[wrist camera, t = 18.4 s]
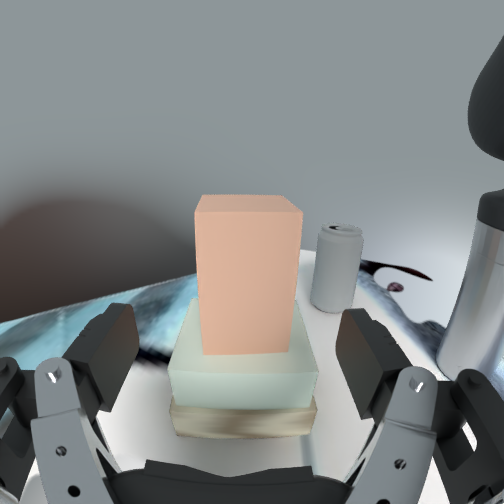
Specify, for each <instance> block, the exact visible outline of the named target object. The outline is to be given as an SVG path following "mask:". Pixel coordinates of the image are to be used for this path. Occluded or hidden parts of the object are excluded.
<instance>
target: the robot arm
mask: <svg viewBox="0 0 504 504" xmlns="http://www.w3.org/2000/svg"><path fill="white" fill-rule="evenodd" d="M468 125H469V130H470V133H471V136H472V138H473V140H474V141H475V143H476V144H477V146H478V147H479V148H480V149H481V150H483V151H484V152H486V153H487V154H489V155H491V156H493V157H495V158H498V159H500V160H503V161H504V36H503V38H502V39H501V41H500V42H499V44H498V46H497V47H496V49H495V51H494V52H493V54H492V55H491V57H490V59H489V60H488V62H487V63H486V65H485V66H484V68H483V70H482V71H481V73H480V75H479V77H478V79H477V80H476V83H475V85H474V87H473V90H472V93H471V97H470V101H469V106H468ZM138 350H139V335H138V331H137V326H136V322H135V317H134V312H133V308H132V306H131V305H130V304H122V303H111V304H110V305H109V307H108V308H107V309H106V310H105V312H104V313H103V314H99V315H98V316H96V317H95V318H93V319H91V320H90V321H89V323H88V324H87V325H86V326H85V328H84V330H82V331H81V333H80V334H79V336H77V338H76V339H75V340H74V342H73V343H72V344H71V346H70V347H69V348H68V349H67V351H66V352H65V353H64V355H63V356H62V358H58V357H56V358H50V359H47V360H45V361H43V362H42V363H41V364H39V365H38V367H37V368H36V370H21V369H20V367H19V365H18V363H17V361H16V360H15V359H14V358H12V357H3V358H0V420H1V418H2V416H3V415H4V413H5V411H6V410H7V408H9V409H10V411H11V412H12V413H13V415H14V417H13V419H12V421H11V423H10V425H9V426H8V428H7V430H6V432H5V434H4V436H3V438H2V440H1V438H0V504H19V501H20V498H21V495H22V492H23V489H24V486H25V483H26V480H27V478H28V475H29V472H30V470H31V467H32V464H33V462H34V459H35V457H36V460H37V464H38V469H39V473H40V477H41V480H42V484H43V488H44V491H45V494H46V498H47V501H48V504H418V501H419V498H420V495H421V492H422V489H423V486H424V483H425V480H426V477H427V473H428V470H429V466H430V463H431V459H432V456H433V458H434V461H435V463H436V466H437V468H438V471H439V474H440V476H441V479H442V482H443V485H444V487H445V490H446V493H447V496H448V499H449V502H450V504H504V401H503V400H502V398H501V397H500V395H499V394H498V393H497V391H496V390H495V388H494V387H493V386H492V384H491V383H490V382H489V380H490V378H491V377H492V375H493V373H494V371H495V370H496V368H497V366H498V364H499V363H500V361H501V359H502V357H503V355H504V189H502V190H499V191H494V192H488V193H485V194H483V195H482V197H481V198H480V201H479V207H478V213H477V220H476V226H475V232H474V236H473V241H472V246H471V251H470V255H469V259H468V263H467V267H466V271H465V274H464V278H463V282H462V285H461V288H460V291H459V294H458V298H457V301H456V304H455V307H454V309H453V312H452V315H451V318H450V320H449V323H448V326H447V328H446V330H445V333H444V335H443V338H442V340H441V342H440V345H439V347H438V349H437V352H436V361H437V364H438V366H439V368H440V369H441V371H442V372H443V373H444V374H445V375H446V376H447V377H448V378H450V379H451V380H453V381H437V379H436V377H435V376H434V375H433V374H432V373H431V372H430V371H428V370H427V369H425V368H422V367H416V366H413V365H412V364H411V362H410V361H409V359H408V358H407V357H406V355H405V354H404V352H403V351H402V349H401V348H400V346H399V345H398V344H396V341H395V339H394V338H393V337H392V335H391V334H390V332H389V331H388V329H387V328H386V327H385V326H384V325H382V324H381V323H379V322H378V321H376V320H372V319H371V317H370V316H369V314H368V313H367V312H366V310H365V309H364V308H359V309H345V310H344V311H343V313H342V318H341V322H340V327H339V331H338V336H337V340H336V356H337V359H338V361H339V364H340V366H341V369H342V371H343V374H344V376H345V379H346V381H347V384H348V386H349V389H350V392H351V394H352V397H353V399H354V402H355V404H356V407H357V410H358V412H359V415H360V418H361V420H363V419H368V418H373V419H374V422H375V423H374V425H373V426H372V428H371V431H370V433H369V435H368V437H367V439H366V441H365V443H364V445H363V447H362V450H361V452H360V454H359V455H358V457H357V459H356V461H355V463H354V465H353V467H352V468H351V470H350V472H349V473H348V475H347V476H346V478H345V479H344V481H343V482H341V481H339V480H336V479H332V478H329V477H324V476H319V475H313V472H312V467H311V466H303V467H292V468H278V469H268V470H264V471H260V472H255V473H251V474H246V475H241V476H235V477H222V476H218V475H214V474H211V473H207V472H204V471H201V470H197V469H194V468H191V467H188V466H185V465H177V464H170V463H164V462H158V461H153V460H147V459H146V463H145V467H144V469H134V470H128V471H123V472H122V471H121V469H120V467H119V466H118V464H117V463H116V461H115V459H114V457H113V455H112V452H111V450H110V448H109V445H108V443H107V441H106V438H105V436H104V433H103V431H102V428H101V426H100V423H99V420H98V418H97V416H96V415H97V413H98V411H99V410H102V411H106V412H111V410H112V408H113V405H114V403H115V401H116V399H117V396H118V394H119V392H120V390H121V387H122V385H123V383H124V381H125V378H126V376H127V374H128V372H129V370H130V368H131V366H132V363H133V361H134V359H135V357H136V355H137V353H138ZM466 422H467V423H468V424H469V426H470V428H471V430H472V432H473V434H474V435H475V437H476V440H477V447H476V450H475V452H474V451H473V449H472V447H471V445H470V443H469V441H468V439H467V437H466V435H465V433H464V431H463V429H462V427H463V426H464V425H465V423H466Z"/></svg>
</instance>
